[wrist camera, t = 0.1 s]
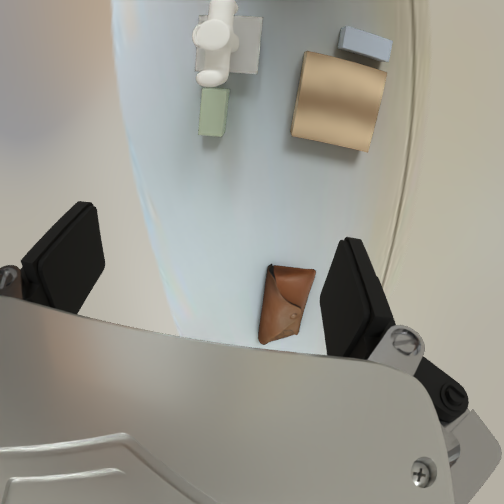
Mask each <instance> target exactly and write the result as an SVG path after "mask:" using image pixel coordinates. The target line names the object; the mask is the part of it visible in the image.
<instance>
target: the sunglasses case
mask: <svg viewBox="0 0 504 504" xmlns="http://www.w3.org/2000/svg"><path fill="white" fill-rule="evenodd" d="M315 273H316V271H315V270H314V269H301V268H293V267H285V266H276V265H274V266H272V264H270V265H269V266H268V269H267V275H266V281H265V289H264V296H263V304H262V311H261V318H260V325H259V332H258V339H259V342H260V343H261V344H263V345H265V344H267V343H268V342H271V341H274V340H278V339H281V338H285V337H288V336H291V335H294V334H296V335H297V334H298V333H299V328H300V323H301V319H302V316H303V312H304V309H305V305H306V302H307V298H308V295H309V292H310V289H311V286H312V284H313V281H314V278H315Z"/></svg>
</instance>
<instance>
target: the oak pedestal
mask: <svg viewBox="0 0 504 504" xmlns="http://www.w3.org/2000/svg"><path fill="white" fill-rule="evenodd" d="M386 76H387V72H384V71H381V70H378V69H375V68H371V67H368V66H365V65H362V64H358V63H355V62H351V61H347V60H344V59H340V58H336V57H332V56H328V55H323V54H319V53H314V52H310V51H306V52H305V53H304V58H303V64H302V70H301V75H300V81H299V86H298V92H297V97H296V103H295V108H294V114H293V119H292V125H291V130H290V132H291V135H292V136H294V137H299V138H304V139H310V140H315V141H320V142H324V143H329V144H334V145H338V146H343V147H347V148H351V149H355V150H360V151H364V152H368V150H369V146H370V143H371V139H372V135H373V131H374V127H375V123H376V119H377V115H378V111H379V107H380V103H381V99H382V94H383V90H384V85H385V81H386Z"/></svg>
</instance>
